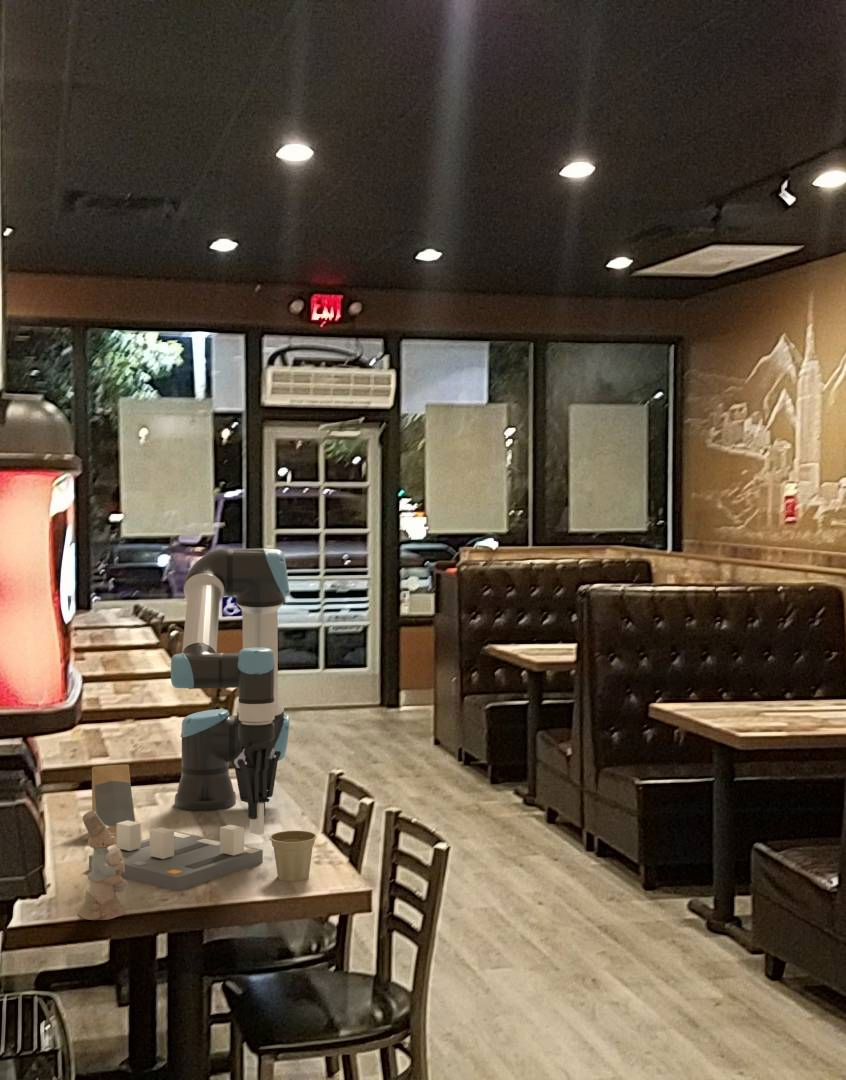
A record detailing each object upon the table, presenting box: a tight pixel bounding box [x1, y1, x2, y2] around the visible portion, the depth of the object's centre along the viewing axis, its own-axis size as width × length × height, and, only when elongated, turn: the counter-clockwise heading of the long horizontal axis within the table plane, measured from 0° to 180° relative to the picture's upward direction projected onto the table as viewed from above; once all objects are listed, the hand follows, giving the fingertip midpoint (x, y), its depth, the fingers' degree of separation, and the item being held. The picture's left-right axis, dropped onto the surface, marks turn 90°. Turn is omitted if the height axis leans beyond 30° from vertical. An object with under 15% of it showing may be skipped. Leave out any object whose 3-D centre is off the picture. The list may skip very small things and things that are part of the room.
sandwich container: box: [91, 764, 136, 845], centre depth 285 cm, size 9×15×15 cm, turn 21°
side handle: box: [116, 820, 142, 851], centre depth 264 cm, size 3×4×5 cm
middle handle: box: [149, 827, 175, 859], centre depth 258 cm, size 3×4×5 cm
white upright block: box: [219, 824, 245, 856], centre depth 260 cm, size 3×4×5 cm
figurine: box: [77, 810, 129, 921], centre depth 230 cm, size 9×8×20 cm
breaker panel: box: [88, 830, 264, 892], centre depth 261 cm, size 24×26×3 cm
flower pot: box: [269, 829, 318, 882], centre depth 253 cm, size 9×9×9 cm
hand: (256, 833), depth 266 cm, fingers closed
